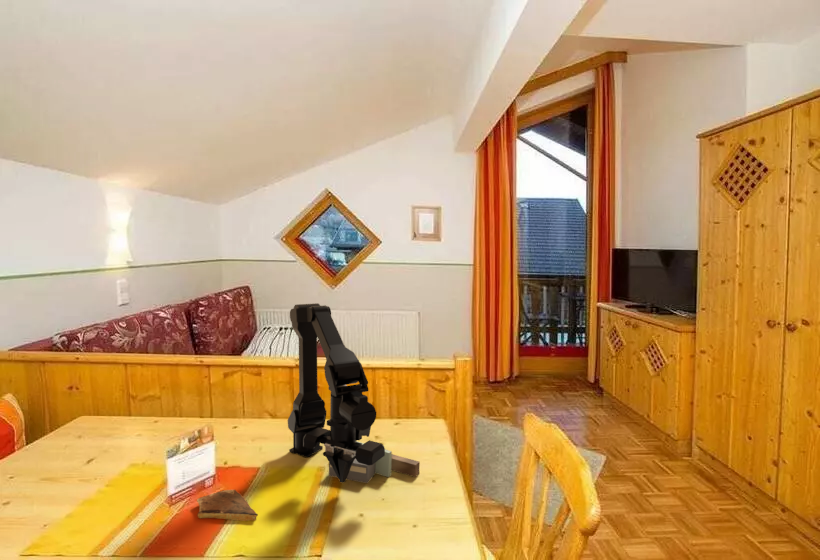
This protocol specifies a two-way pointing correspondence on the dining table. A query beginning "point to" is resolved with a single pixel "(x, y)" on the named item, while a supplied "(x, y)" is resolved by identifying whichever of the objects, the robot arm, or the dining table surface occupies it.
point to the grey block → (357, 472)
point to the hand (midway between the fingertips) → (342, 481)
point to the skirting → (405, 465)
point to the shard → (225, 506)
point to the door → (384, 464)
